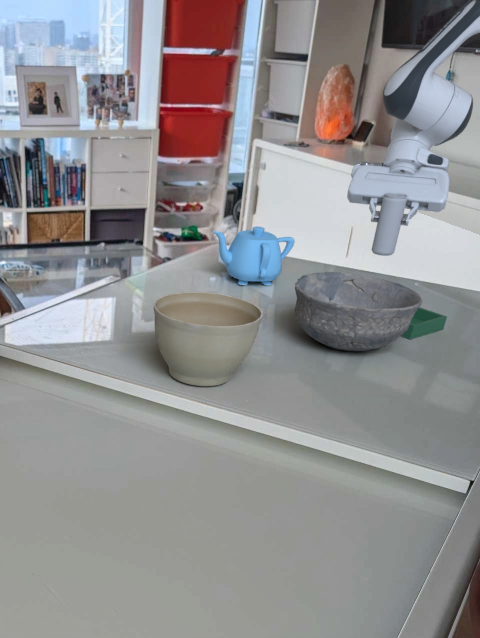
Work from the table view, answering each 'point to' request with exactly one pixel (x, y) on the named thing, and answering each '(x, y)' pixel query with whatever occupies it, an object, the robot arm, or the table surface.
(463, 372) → the table surface
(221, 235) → the teapot
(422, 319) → the green tray
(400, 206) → the beverage can
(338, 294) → the bowl
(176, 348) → the planter bowl
